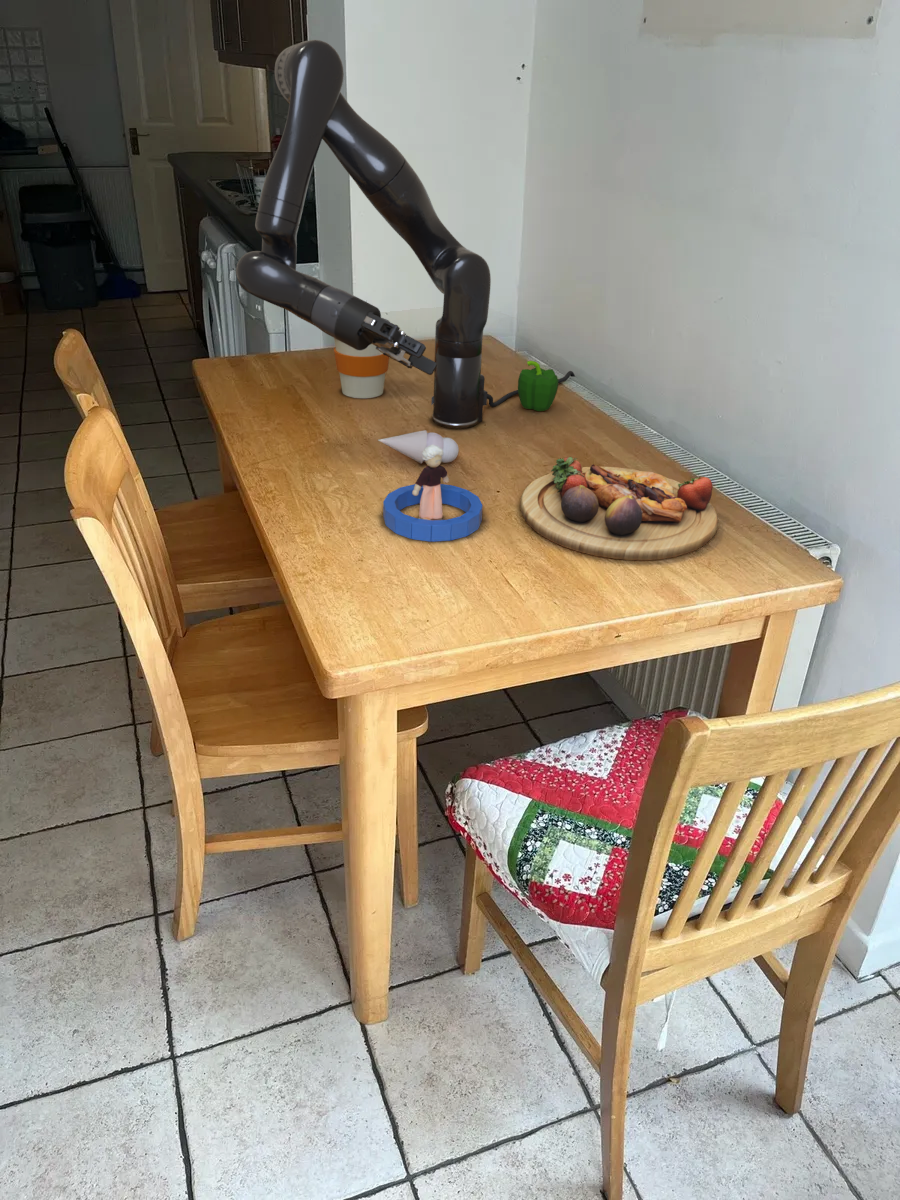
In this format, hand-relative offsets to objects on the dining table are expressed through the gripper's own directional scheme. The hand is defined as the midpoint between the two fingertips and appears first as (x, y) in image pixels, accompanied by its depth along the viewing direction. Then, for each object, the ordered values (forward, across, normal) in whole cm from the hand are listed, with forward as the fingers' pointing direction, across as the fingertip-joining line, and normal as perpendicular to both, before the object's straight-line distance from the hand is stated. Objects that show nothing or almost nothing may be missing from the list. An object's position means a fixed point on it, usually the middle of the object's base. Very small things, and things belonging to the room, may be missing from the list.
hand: (428, 361), depth 146 cm
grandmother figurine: (+13, +2, +22) cm, 26 cm away
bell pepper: (+8, +51, -11) cm, 52 cm away
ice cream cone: (+1, +20, +14) cm, 24 cm away
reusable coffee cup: (-27, +48, +4) cm, 55 cm away
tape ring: (+13, +2, +22) cm, 26 cm away
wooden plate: (+38, +10, +7) cm, 40 cm away
